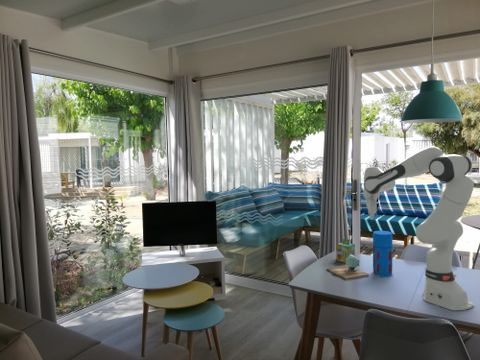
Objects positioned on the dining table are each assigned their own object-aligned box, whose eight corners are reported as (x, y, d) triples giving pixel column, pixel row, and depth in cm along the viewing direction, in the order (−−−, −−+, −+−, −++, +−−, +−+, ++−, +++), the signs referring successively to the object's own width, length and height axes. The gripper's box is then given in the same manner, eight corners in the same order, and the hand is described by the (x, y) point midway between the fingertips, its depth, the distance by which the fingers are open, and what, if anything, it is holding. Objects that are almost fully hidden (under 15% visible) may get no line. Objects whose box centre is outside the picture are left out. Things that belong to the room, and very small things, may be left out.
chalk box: (335, 261, 252) (335, 239, 251) (343, 258, 258) (343, 237, 257) (348, 263, 245) (348, 241, 244) (355, 260, 251) (355, 239, 250)
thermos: (389, 270, 228) (389, 230, 227) (394, 276, 218) (394, 234, 216) (371, 270, 230) (370, 230, 228) (375, 276, 219) (375, 234, 217)
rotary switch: (359, 265, 226) (359, 256, 226) (351, 267, 225) (351, 257, 224) (353, 263, 232) (353, 253, 231) (345, 264, 230) (345, 255, 229)
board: (368, 276, 220) (368, 273, 220) (344, 280, 215) (344, 277, 215) (348, 266, 239) (348, 264, 239) (325, 270, 233) (325, 267, 233)
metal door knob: (358, 270, 227) (358, 259, 226) (351, 271, 225) (351, 260, 225) (353, 268, 232) (353, 257, 231) (346, 269, 230) (346, 258, 229)
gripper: (379, 198, 208) (378, 222, 210) (375, 190, 227) (374, 212, 230) (367, 198, 209) (367, 221, 212) (364, 190, 229) (363, 212, 231)
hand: (370, 217), depth 221 cm, fingers open, 8 cm apart
